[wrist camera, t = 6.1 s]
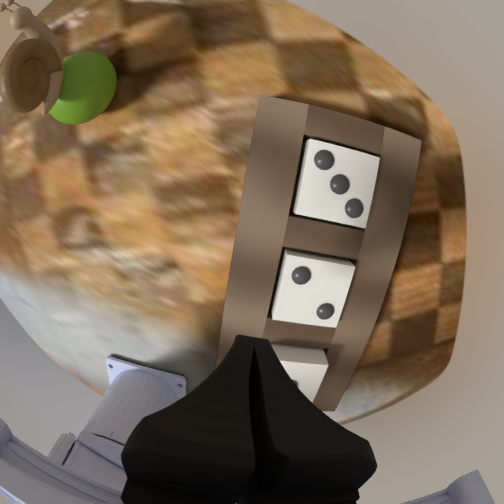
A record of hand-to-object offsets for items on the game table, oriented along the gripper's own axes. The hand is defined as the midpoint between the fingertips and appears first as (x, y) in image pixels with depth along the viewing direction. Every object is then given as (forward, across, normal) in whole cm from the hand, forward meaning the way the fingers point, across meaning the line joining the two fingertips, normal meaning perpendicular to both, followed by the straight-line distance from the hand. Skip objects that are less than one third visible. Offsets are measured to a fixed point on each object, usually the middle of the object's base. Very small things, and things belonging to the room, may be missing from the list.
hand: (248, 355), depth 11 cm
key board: (+9, -4, -1) cm, 10 cm away
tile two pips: (+9, -4, -1) cm, 10 cm away
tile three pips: (+9, -4, -8) cm, 12 cm away
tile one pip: (+8, -4, +6) cm, 11 cm away
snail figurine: (+10, +14, -12) cm, 21 cm away
